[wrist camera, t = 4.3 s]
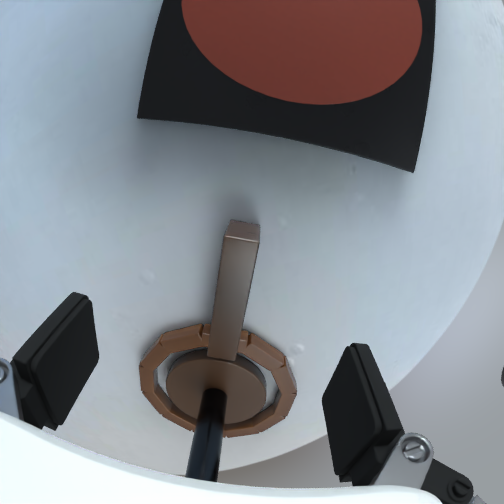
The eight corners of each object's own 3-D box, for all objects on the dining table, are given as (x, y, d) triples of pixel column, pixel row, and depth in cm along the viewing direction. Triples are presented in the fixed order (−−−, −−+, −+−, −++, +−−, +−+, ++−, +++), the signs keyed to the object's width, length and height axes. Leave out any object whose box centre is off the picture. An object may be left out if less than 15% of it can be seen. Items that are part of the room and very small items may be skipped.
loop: (274, 434, 25) (274, 458, 23) (147, 411, 25) (139, 434, 22) (345, 241, 18) (359, 260, 15) (145, 204, 18) (125, 218, 15)
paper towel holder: (276, 358, 22) (281, 550, 8) (256, 419, 24) (250, 565, 11) (169, 339, 21) (103, 519, 8) (169, 404, 24) (129, 544, 11)
